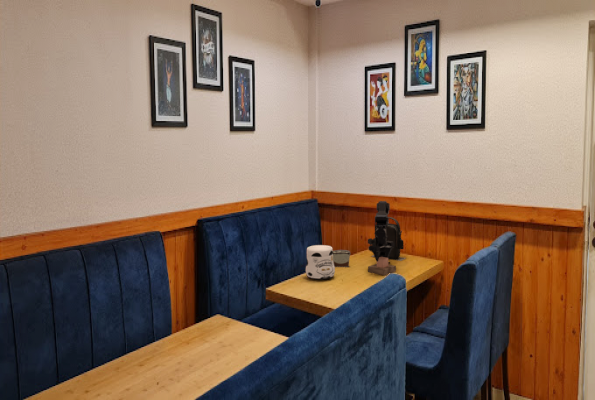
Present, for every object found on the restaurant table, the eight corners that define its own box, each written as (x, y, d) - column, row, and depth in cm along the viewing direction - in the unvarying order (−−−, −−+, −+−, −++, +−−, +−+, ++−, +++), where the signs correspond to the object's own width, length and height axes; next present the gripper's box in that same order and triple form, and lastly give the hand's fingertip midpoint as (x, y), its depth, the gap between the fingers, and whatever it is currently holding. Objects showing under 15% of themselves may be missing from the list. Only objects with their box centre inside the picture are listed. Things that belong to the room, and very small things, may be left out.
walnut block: (380, 268, 293) (380, 262, 293) (395, 272, 284) (395, 265, 284) (368, 272, 285) (367, 266, 285) (383, 276, 276) (383, 269, 276)
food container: (350, 264, 304) (350, 249, 302) (351, 267, 298) (350, 251, 296) (331, 264, 305) (331, 249, 304) (331, 267, 299) (331, 252, 298)
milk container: (326, 283, 265) (325, 252, 263) (300, 279, 275) (299, 249, 273) (340, 275, 280) (339, 246, 278) (315, 272, 289) (314, 243, 287)
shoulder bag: (406, 258, 315) (406, 217, 312) (400, 261, 308) (400, 219, 305) (377, 254, 329) (376, 215, 326) (370, 256, 322) (370, 216, 319)
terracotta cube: (381, 264, 287) (381, 256, 287) (388, 266, 284) (388, 258, 283) (376, 266, 284) (376, 258, 283) (383, 267, 280) (383, 259, 280)
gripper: (380, 230, 294) (380, 254, 296) (361, 235, 282) (361, 260, 283) (394, 232, 286) (395, 257, 288) (376, 237, 273) (376, 263, 275)
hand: (381, 259), depth 284 cm, fingers open, 9 cm apart
